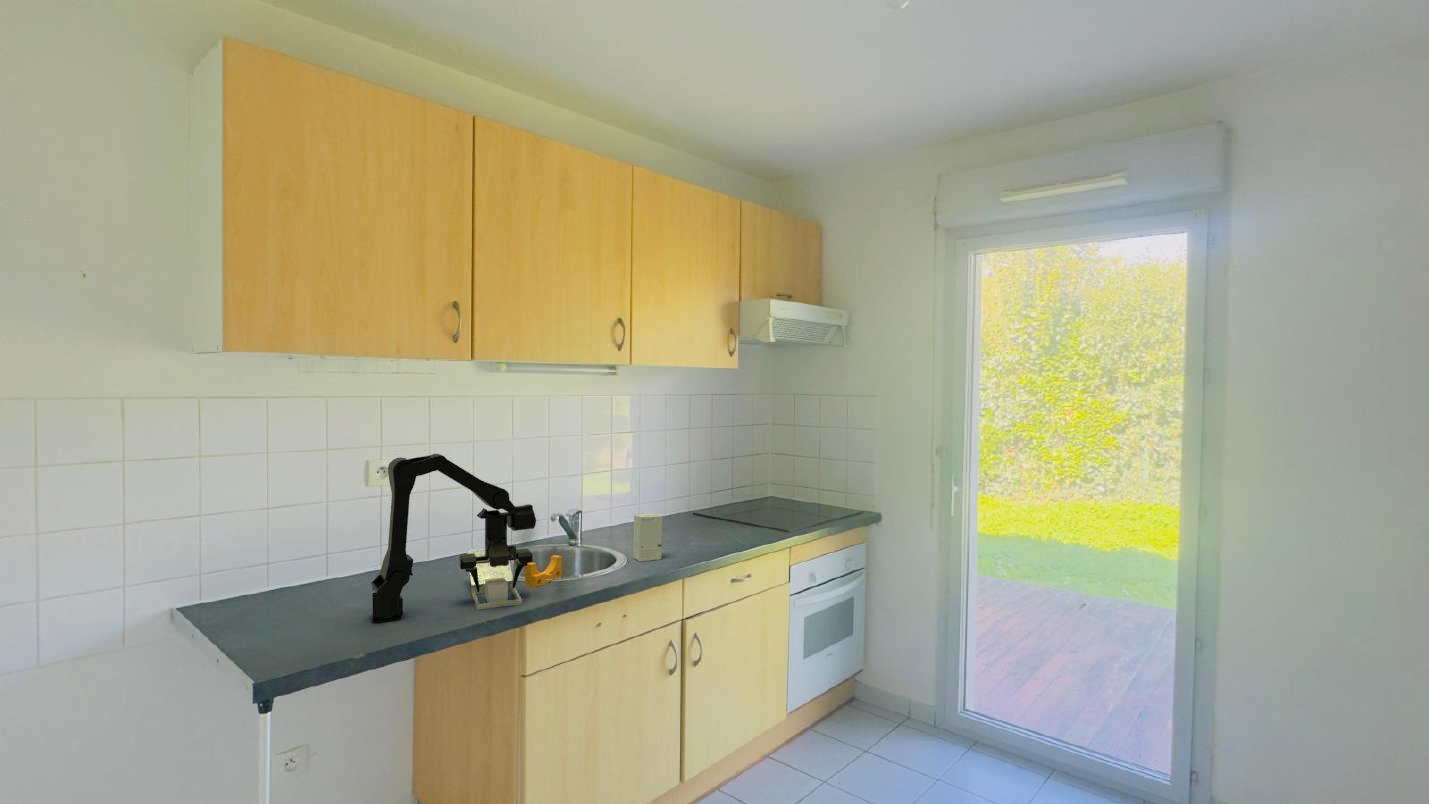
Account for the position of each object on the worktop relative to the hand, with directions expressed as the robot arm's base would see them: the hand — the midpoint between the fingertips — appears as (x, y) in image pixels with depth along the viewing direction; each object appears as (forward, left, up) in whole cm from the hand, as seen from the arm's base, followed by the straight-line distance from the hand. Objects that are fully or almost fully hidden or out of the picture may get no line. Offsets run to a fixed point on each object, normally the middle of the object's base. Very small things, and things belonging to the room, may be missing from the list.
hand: (496, 590), depth 192 cm
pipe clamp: (+16, +12, -3) cm, 20 cm away
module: (0, 0, -3) cm, 3 cm away
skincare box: (+52, +25, -3) cm, 58 cm away
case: (0, +6, -2) cm, 7 cm away
